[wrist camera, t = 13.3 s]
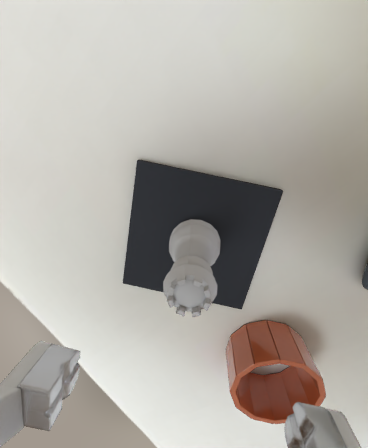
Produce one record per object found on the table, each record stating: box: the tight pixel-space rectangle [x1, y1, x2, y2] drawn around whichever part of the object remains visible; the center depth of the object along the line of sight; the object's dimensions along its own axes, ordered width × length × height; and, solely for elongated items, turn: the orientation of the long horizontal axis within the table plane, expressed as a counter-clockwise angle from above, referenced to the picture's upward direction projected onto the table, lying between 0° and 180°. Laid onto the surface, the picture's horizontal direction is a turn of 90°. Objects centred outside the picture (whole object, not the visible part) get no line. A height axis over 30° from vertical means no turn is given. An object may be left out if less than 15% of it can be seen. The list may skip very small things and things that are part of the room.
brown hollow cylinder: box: [226, 320, 326, 424], centre depth 22 cm, size 8×8×4 cm
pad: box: [123, 160, 283, 309], centre depth 20 cm, size 12×12×1 cm
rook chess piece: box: [163, 219, 221, 317], centre depth 16 cm, size 4×4×8 cm
